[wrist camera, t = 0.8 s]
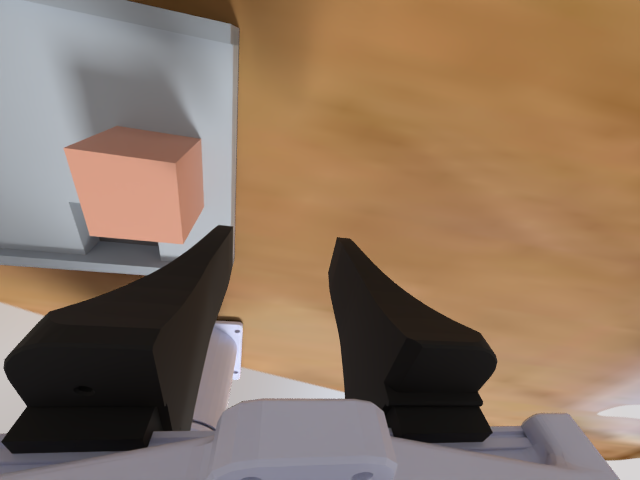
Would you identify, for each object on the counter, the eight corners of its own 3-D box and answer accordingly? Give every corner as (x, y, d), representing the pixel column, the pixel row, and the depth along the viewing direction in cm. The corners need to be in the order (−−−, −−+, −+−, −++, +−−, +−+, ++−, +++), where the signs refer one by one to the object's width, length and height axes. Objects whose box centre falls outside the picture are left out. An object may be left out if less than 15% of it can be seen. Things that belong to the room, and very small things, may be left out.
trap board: (234, 259, 24) (227, 286, 21) (-83, 232, 20) (-144, 260, 17) (239, 28, 16) (228, 22, 13) (-304, -93, 12) (-491, -139, 9)
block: (204, 207, 19) (183, 244, 15) (131, 198, 18) (89, 235, 14) (201, 138, 17) (175, 163, 13) (116, 125, 16) (63, 147, 12)
